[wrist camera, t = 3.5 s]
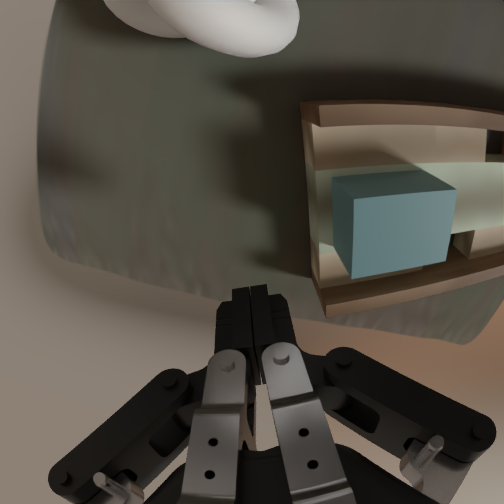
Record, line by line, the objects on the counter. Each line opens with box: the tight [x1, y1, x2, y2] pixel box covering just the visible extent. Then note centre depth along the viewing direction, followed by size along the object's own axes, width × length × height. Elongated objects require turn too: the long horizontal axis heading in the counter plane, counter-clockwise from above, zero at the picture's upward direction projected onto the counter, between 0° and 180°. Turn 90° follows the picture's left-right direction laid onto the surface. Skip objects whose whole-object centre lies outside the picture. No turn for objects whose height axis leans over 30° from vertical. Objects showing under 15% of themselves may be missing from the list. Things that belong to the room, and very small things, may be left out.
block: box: [331, 170, 457, 279], centre depth 18 cm, size 5×7×4 cm
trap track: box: [299, 99, 504, 318], centre depth 20 cm, size 14×27×5 cm, turn 98°
